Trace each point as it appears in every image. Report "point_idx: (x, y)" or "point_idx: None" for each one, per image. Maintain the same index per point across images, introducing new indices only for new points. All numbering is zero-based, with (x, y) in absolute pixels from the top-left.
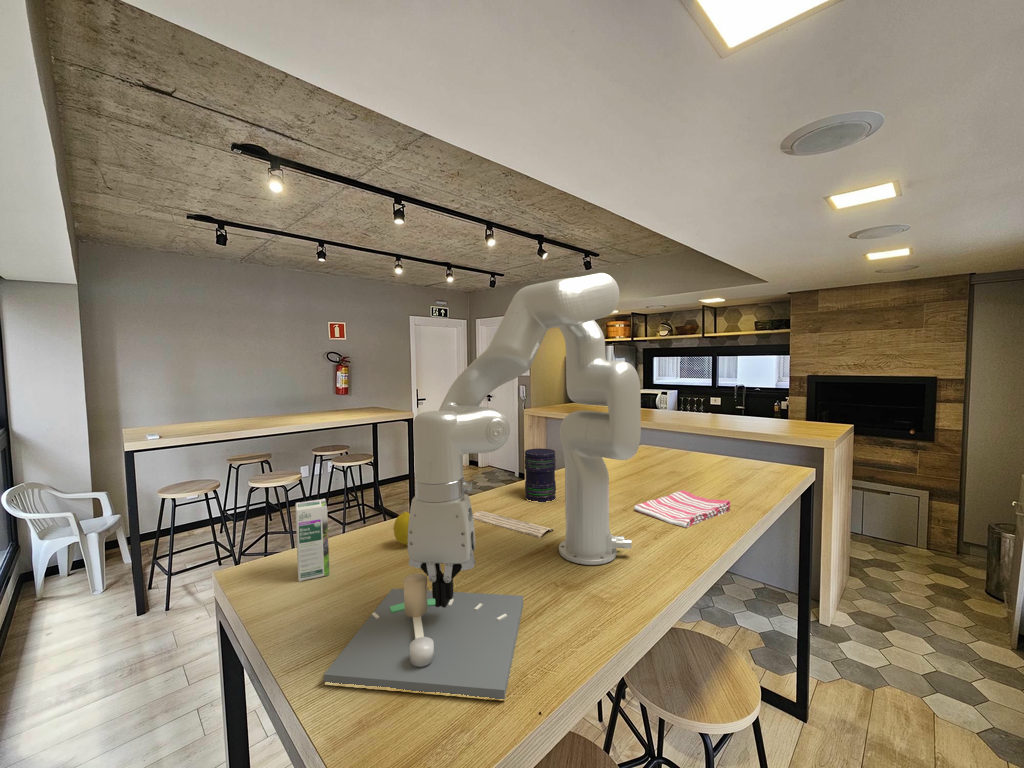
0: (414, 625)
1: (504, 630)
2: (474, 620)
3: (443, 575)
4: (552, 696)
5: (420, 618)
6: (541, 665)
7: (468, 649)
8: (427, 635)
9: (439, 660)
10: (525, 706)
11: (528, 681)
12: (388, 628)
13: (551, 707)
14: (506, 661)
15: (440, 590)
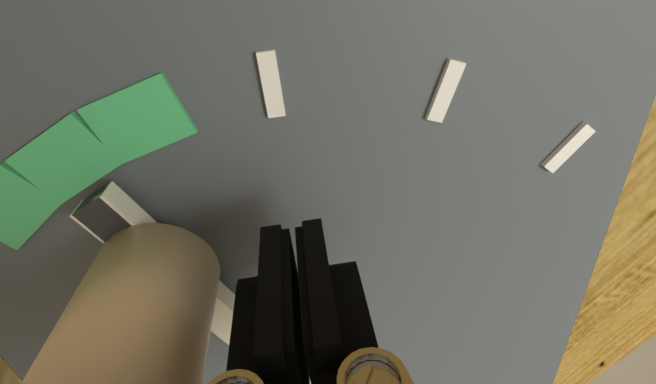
0: (227, 342)
1: (569, 220)
2: (441, 195)
3: (290, 358)
4: (638, 330)
5: (222, 306)
6: (641, 263)
7: (447, 323)
8: None
9: None
10: (576, 361)
11: (594, 313)
12: None
13: (628, 350)
14: (562, 329)
15: (306, 363)
